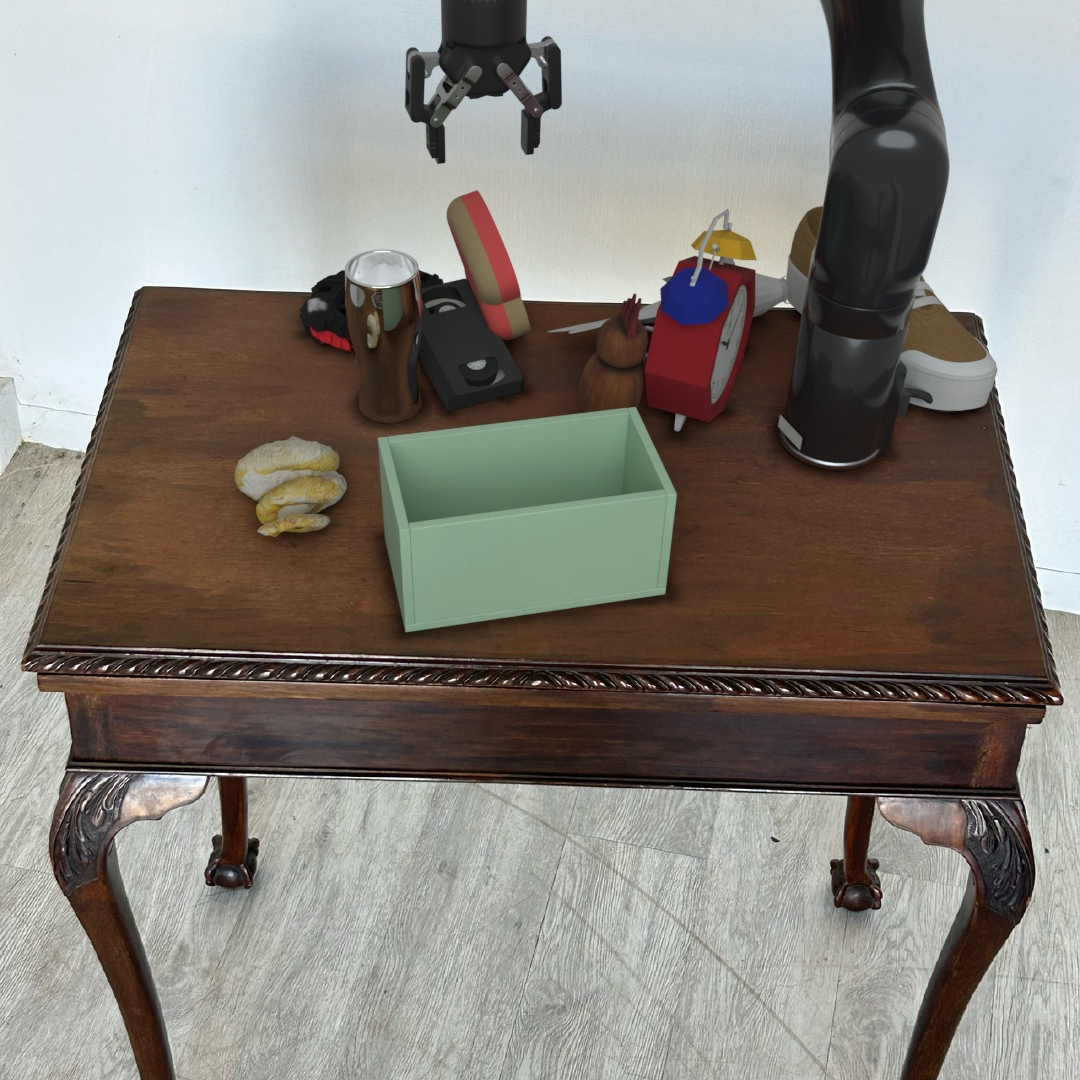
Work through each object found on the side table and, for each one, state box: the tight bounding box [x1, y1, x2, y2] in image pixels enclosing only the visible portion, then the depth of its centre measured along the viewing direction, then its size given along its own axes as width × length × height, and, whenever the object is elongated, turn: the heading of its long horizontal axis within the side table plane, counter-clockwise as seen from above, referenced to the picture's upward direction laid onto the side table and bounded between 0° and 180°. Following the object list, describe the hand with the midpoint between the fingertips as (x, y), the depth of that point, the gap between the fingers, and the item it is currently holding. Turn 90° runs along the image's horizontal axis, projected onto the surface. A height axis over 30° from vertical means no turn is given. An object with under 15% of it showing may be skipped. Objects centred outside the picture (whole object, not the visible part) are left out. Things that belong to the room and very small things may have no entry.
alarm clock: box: [642, 208, 758, 432], centre depth 126 cm, size 15×9×20 cm, turn 157°
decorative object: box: [446, 189, 532, 341], centre depth 137 cm, size 14×4×15 cm
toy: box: [299, 269, 444, 352], centre depth 142 cm, size 17×16×3 cm
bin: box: [377, 407, 678, 633], centre depth 111 cm, size 22×12×11 cm, turn 103°
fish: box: [547, 257, 791, 334], centre depth 141 cm, size 10×26×10 cm
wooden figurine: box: [576, 292, 649, 414], centre depth 124 cm, size 7×6×15 cm
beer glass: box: [344, 248, 423, 424], centre depth 127 cm, size 7×7×15 cm
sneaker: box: [785, 205, 998, 412], centre depth 137 cm, size 10×29×10 cm, turn 27°
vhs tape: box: [418, 278, 524, 413], centre depth 135 cm, size 14×8×2 cm, turn 26°
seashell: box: [233, 435, 348, 538], centre depth 119 cm, size 10×6×15 cm
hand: (483, 155), depth 129 cm, fingers open, 8 cm apart
